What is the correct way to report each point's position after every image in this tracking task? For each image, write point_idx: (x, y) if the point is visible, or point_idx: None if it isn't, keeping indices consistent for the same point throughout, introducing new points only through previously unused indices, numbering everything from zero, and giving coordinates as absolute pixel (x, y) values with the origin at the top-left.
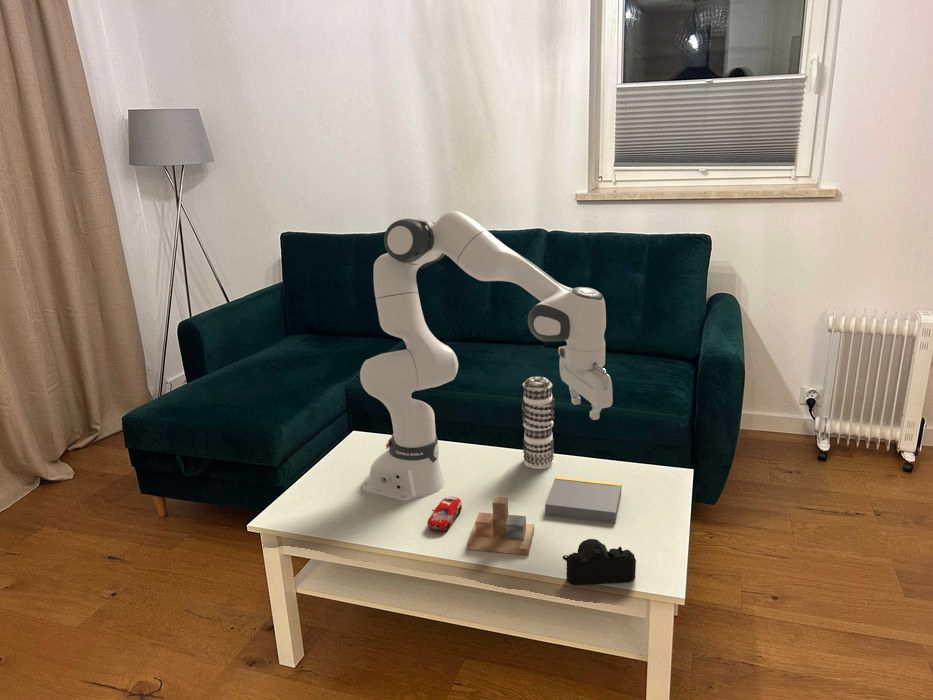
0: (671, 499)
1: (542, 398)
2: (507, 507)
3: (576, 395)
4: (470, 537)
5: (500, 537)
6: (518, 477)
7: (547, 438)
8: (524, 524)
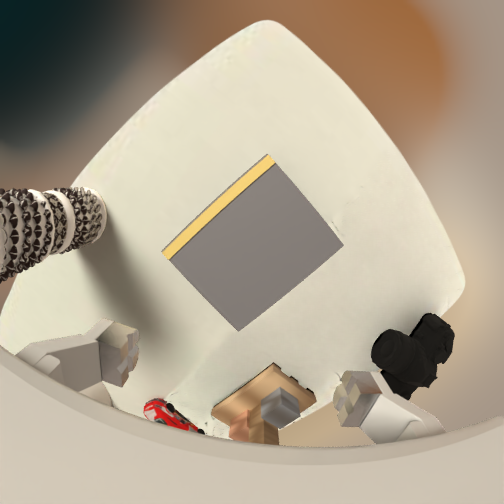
0: (335, 100)
1: None
2: (267, 434)
3: (93, 359)
4: None
5: None
6: (111, 280)
7: (68, 219)
8: (291, 406)
